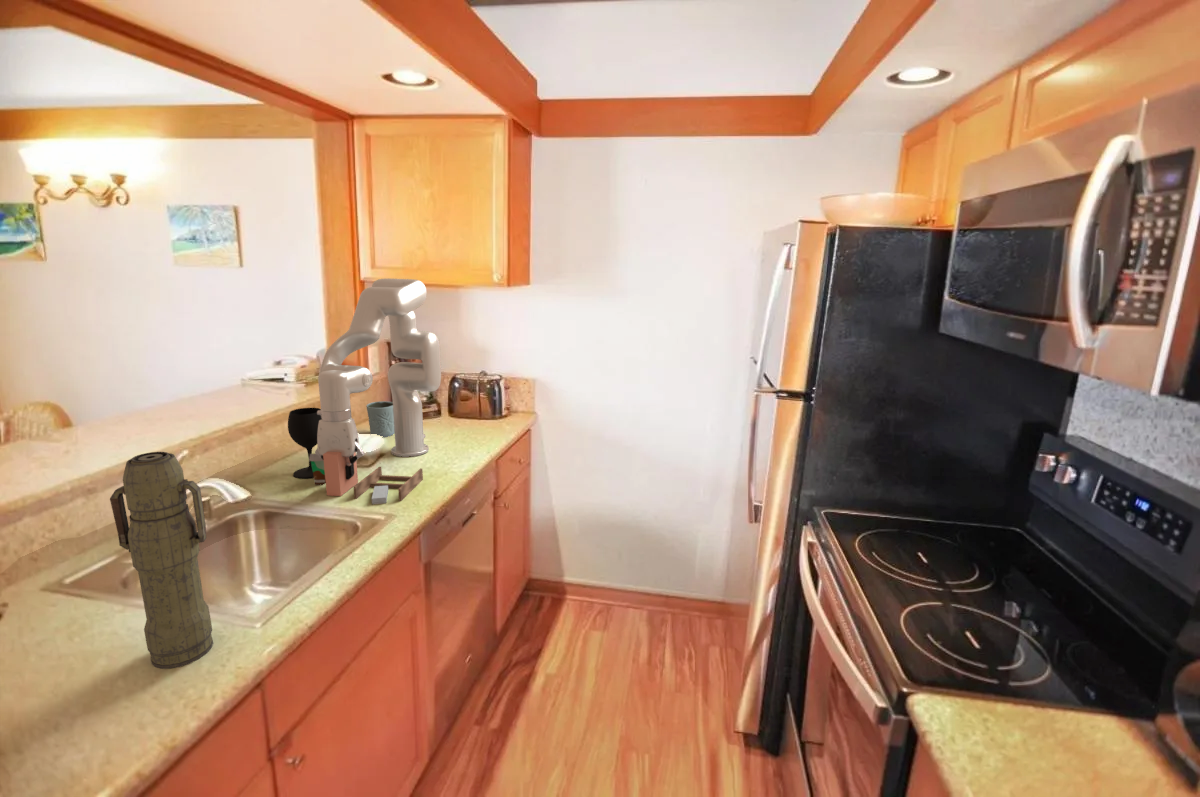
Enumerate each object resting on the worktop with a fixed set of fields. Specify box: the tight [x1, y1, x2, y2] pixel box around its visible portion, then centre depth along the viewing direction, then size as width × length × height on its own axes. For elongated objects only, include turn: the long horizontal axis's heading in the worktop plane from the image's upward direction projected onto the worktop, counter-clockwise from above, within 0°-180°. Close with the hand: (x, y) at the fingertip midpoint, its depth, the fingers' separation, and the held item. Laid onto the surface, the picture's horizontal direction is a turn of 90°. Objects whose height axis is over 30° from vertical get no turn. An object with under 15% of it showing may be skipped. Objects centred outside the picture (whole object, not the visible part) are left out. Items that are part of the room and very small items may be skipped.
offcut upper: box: [371, 485, 389, 505], centre depth 159 cm, size 4×9×2 cm, turn 16°
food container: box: [308, 453, 326, 486], centre depth 173 cm, size 12×6×10 cm, turn 168°
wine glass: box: [287, 407, 322, 480], centre depth 178 cm, size 10×10×20 cm
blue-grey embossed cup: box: [366, 400, 395, 438], centre depth 219 cm, size 10×10×12 cm
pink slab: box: [323, 452, 359, 497], centre depth 163 cm, size 4×10×12 cm, turn 176°
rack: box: [353, 466, 424, 502], centre depth 165 cm, size 16×13×5 cm
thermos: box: [109, 451, 214, 670], centre depth 94 cm, size 9×12×35 cm
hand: (341, 476), depth 163 cm, fingers closed on pink slab, 4 cm apart
